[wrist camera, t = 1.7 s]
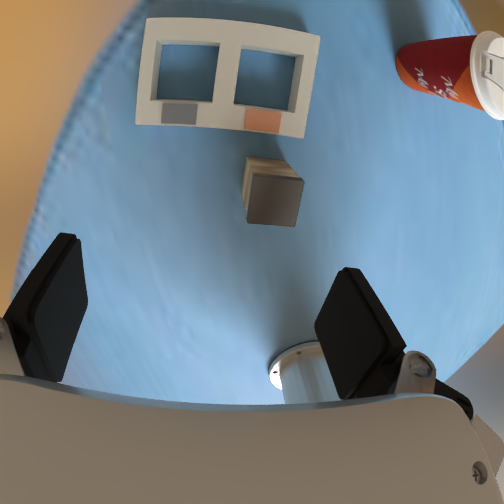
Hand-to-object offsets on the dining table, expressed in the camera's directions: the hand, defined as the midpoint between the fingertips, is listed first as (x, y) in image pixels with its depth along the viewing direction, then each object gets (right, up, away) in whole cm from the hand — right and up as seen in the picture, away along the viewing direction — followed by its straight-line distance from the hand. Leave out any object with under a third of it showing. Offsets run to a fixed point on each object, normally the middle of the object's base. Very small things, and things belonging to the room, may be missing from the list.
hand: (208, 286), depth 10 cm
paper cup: (+20, +22, +15) cm, 33 cm away
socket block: (-1, +18, +14) cm, 23 cm away
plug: (+3, +9, +20) cm, 22 cm away
